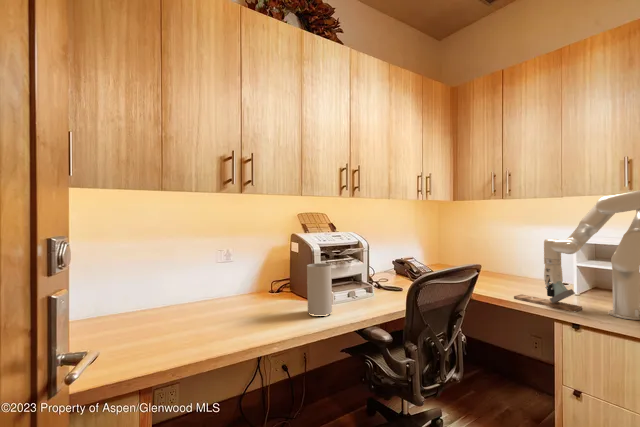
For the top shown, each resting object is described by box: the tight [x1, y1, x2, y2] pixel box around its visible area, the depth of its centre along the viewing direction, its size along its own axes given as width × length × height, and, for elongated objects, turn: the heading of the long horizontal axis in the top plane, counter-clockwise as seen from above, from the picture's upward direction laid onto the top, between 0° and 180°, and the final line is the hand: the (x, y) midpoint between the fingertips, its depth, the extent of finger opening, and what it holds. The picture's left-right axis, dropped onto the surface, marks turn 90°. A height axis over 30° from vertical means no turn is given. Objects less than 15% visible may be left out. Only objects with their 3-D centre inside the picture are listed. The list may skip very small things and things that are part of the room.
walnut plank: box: [513, 294, 583, 312], centre depth 176 cm, size 30×8×2 cm, turn 29°
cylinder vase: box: [306, 262, 333, 315], centre depth 164 cm, size 12×12×25 cm
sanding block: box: [545, 281, 576, 303], centre depth 170 cm, size 10×6×8 cm
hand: (552, 295), depth 172 cm, fingers closed on sanding block, 4 cm apart
